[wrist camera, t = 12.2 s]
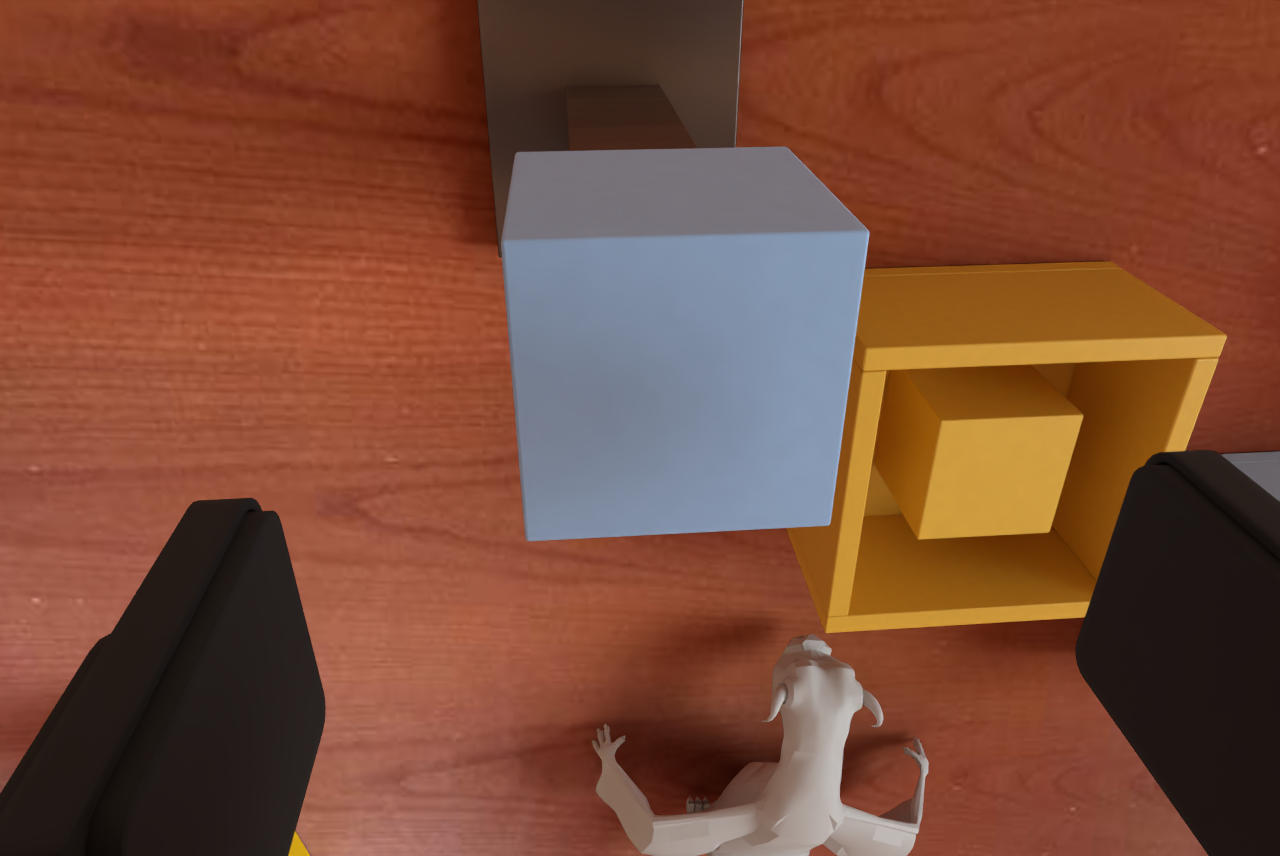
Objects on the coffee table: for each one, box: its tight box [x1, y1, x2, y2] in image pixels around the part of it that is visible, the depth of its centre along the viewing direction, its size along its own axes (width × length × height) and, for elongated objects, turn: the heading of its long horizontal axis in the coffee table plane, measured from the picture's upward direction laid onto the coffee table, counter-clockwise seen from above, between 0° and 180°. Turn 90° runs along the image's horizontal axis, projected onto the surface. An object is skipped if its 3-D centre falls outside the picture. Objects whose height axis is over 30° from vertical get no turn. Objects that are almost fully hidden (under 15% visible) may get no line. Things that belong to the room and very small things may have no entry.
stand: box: [477, 0, 744, 258], centre depth 23 cm, size 8×8×14 cm
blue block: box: [501, 147, 869, 541], centre depth 15 cm, size 5×5×5 cm
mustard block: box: [875, 364, 1083, 540], centre depth 33 cm, size 5×5×5 cm
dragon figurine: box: [591, 634, 929, 856], centre depth 42 cm, size 15×15×9 cm
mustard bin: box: [786, 261, 1227, 633], centre depth 33 cm, size 12×12×7 cm
